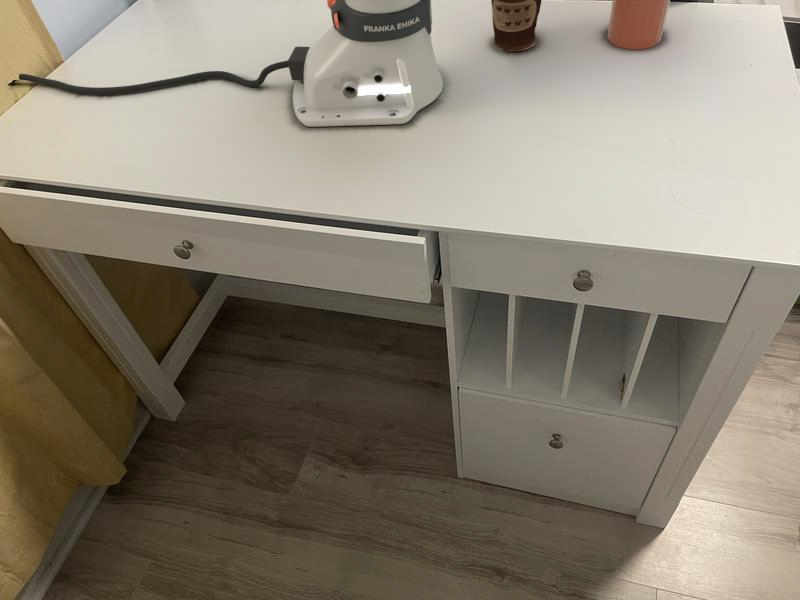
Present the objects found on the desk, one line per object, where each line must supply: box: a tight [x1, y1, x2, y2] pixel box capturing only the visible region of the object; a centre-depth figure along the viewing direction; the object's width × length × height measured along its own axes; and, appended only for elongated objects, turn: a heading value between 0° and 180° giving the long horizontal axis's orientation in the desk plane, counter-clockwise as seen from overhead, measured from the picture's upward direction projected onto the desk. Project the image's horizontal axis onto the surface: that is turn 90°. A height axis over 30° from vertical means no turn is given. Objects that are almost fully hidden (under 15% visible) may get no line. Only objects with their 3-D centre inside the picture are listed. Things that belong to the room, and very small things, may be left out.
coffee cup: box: [490, 0, 542, 52], centre depth 100 cm, size 9×8×13 cm
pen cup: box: [607, 0, 671, 50], centre depth 99 cm, size 8×8×10 cm
